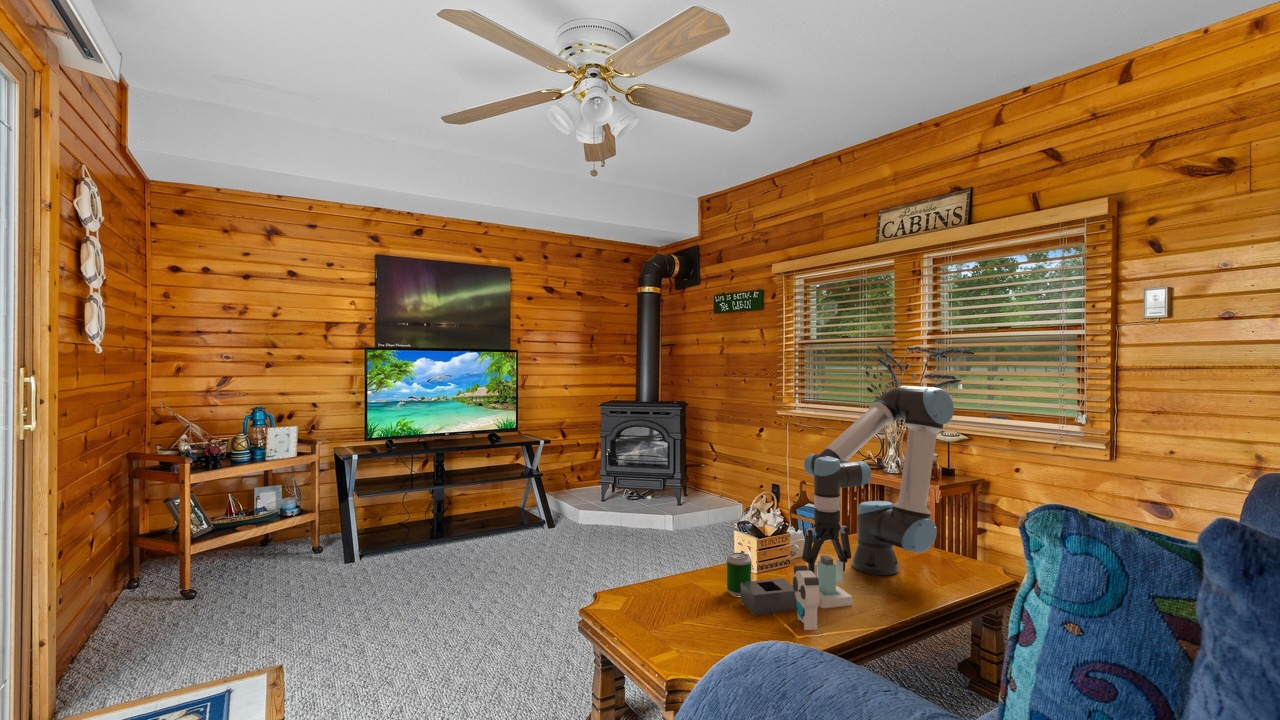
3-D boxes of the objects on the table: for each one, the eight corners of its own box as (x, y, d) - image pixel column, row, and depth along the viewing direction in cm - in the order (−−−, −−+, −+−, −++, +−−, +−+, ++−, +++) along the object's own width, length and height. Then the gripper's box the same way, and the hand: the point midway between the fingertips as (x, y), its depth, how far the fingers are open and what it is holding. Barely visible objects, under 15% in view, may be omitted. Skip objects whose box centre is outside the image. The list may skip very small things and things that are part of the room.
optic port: (783, 597, 188) (783, 578, 188) (798, 610, 179) (798, 590, 178) (740, 601, 185) (740, 582, 185) (754, 615, 175) (754, 595, 175)
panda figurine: (780, 616, 175) (780, 564, 175) (819, 615, 176) (819, 563, 175) (792, 635, 163) (792, 580, 163) (834, 634, 164) (834, 579, 163)
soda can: (751, 599, 187) (751, 560, 187) (726, 597, 188) (726, 558, 188) (751, 590, 194) (751, 552, 194) (727, 588, 196) (727, 551, 196)
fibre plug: (827, 594, 189) (827, 554, 189) (835, 601, 184) (836, 559, 184) (817, 595, 188) (817, 555, 188) (826, 602, 183) (826, 560, 183)
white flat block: (831, 591, 193) (831, 581, 193) (852, 606, 181) (852, 596, 181) (802, 594, 191) (802, 584, 191) (822, 610, 179) (822, 599, 179)
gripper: (850, 503, 192) (850, 575, 192) (789, 507, 187) (789, 581, 187) (864, 509, 184) (864, 584, 185) (801, 514, 180) (801, 591, 180)
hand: (826, 583), depth 186 cm, fingers open, 8 cm apart
